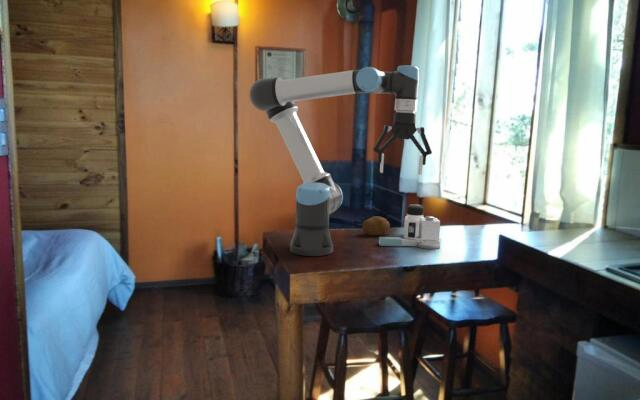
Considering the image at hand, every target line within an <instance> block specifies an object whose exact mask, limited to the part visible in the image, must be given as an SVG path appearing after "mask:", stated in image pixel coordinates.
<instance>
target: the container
mask: <svg viewBox="0 0 640 400" xmlns="http://www.w3.org/2000/svg"><path fill="white" fill-rule="evenodd" d="M424 211H425V207H424V206H423V205H421V204H409V205H407V207H406V216H405V217H404V224H403V225H404V226H403V239H416V237H417V236H419V220H420V218H425V217H424Z"/></svg>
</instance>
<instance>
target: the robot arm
mask: <svg viewBox="0 0 640 400" xmlns="http://www.w3.org/2000/svg"><path fill="white" fill-rule="evenodd" d="M419 84H420V69H419V67H418V66H416V65H398V66H397V69H396V71H384V70H383V71H381V70H379V69H377V68H376V67H373V66H365V67H363V68H361V69H354V70H346V71H345V70H344V71H339V72H330V73H324V74H317V75H311V76H310V75H309V76H302V77H295V78H288V79H284V78H282V77H273V78H272V77H271V78H269V77H268V78H266V77H264V78H259V79H256V81H254V82H253V84H252V85H251V87H250V89H249V99H250V102H251V104H252V106H253V107H254V108H256V109H257V110H259V111H260V112H261V111H262V112H265V114H266V115H267V117H268V120H269V122H271V123H274V124H275V125H276V127H277V128H278V131H279V133H280V135H281V137H282V139H283V141H284V144H285V145H286V148H287V150H288V152H289V154H290V156H291V158H292V160H293V163H294V165H295V167H296V168H297V171H298V173H299V176H300V178H301V179H302V184H300V185H299V186H298V187H297V188H296V192H295V193H296V194H295V229H294V232H293V234H292V235H293V236H292V238H291V241H290V243H289V246H290V247H289V251H290V253H293V254H295V255H299V256H304V257H305V256H307V257H318V256H319V257H320V256H321V257H323V256H327V255H330V254H332V253H333V252H334V244H333V240H332V237H331V234H330V229H329V227H330V226H329V225H330V215H332V214H333V213H335V212H337V211H338V209H339V208H340V207H341V205H342V203H343V199H344V195H343V191H342V188H341V187H340V186H339V185H338V184H337V183H336V182H334V180H333V177H332V175H331V173H328V172H326V171H325V170H324V169H323V166H322V163H321V162H320V160H319V157H318V155H317V154H316V152H315V149H314V148H313V146H312V143H311V141H310V139H309V137H308V134H307V133H306V131H305V128H304V126H303V124H302V122H301V121H300V120H301V119H300V118H299V116H298V114H297V113H298V110H299V106H298V104H297V102H298V101H299V102H300V101H308V100H313V99H314V100H316V99H324V98H332V97H337V96H338V97H339V96H345V95H347V96H348V95H353V94H363V93H365V94H366V93H367V94H371V95H373V94H380V95H381V94H384V95H385V94H387V95H388V94H389V95H395V96H394V97H395V98H394V99H395V100H394V111H395V112H394V113H393V124H392V126H390V125H386V124H385V125H384V126H383V131H382V133H381V134H380V136H379V138H378V139H377V141H376V143H375V144H374V146H373V148H372V151H374V152H375V153H377V163H379V172H380V173H381V174H383V173H384V162H385V161H384V160H385V154H384V151H386V150H387V148H388V147H389V146H390V145H391V144H392V143H393V142H394V141H395V140H396V139H398V140H411V142H412V143H413V145H414V146H415V147H416V148H417V150H418V151H419V153H421V154H419V158H418V159H419V160H418V170H417V175H419V176H422V173H423V166H425V165H426V164H427V163H426V161H427V156H430V155H432V154H433V151H432V149H431V147H430V145H429V142H428V139H427V137H426V134H425V127H423V126H420V127H416V123H417V122H416V121H417V114H416V113H415V112H417V109H418V108H417V107H418V97H419V96H418V94H419ZM390 131H392V132H393V134H392V135H391V137H390V138H388V140H386V141H385V143H384V144H383V145H382V143H383V141H384V139H385V137H387V134H388V133H390ZM416 132H417V133H418V134H419V136H420V138H421V141H422V144H423V146H424V148H425V149H424V148H423V147H422V144H420V143H419V141H418V140H417V138H416V137H415V136H414V134H415V133H416ZM381 145H382V146H381ZM380 146H381V147H380Z"/></svg>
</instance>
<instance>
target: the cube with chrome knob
mask: <svg viewBox="0 0 640 400" xmlns="http://www.w3.org/2000/svg"><path fill="white" fill-rule="evenodd" d="M440 231H441V220H440V219H438V218H437V217H434V216H431V215H426V216H425V217H424V218H420V220H419V238H420V239H421V240H428V241H439V238H440Z"/></svg>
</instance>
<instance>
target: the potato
mask: <svg viewBox="0 0 640 400" xmlns="http://www.w3.org/2000/svg"><path fill="white" fill-rule="evenodd" d="M390 226H391V224H390V221H388V220H387V218H385V217H382V216H378V215H376V216H372V217H369V218H367V219H365V220H363V222H362V232H363V233H364V234H365V235H368V236H383V235H385V234H387V233H388V232H389V229H390Z"/></svg>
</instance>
